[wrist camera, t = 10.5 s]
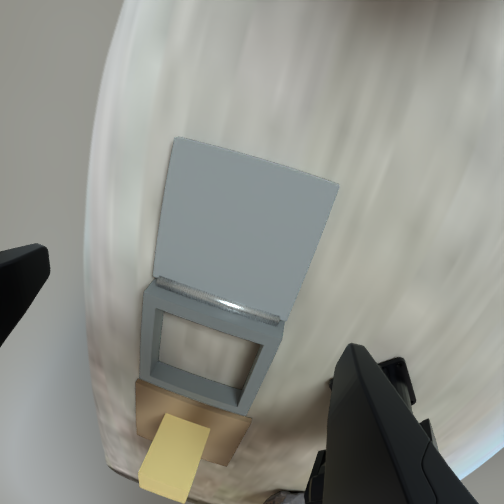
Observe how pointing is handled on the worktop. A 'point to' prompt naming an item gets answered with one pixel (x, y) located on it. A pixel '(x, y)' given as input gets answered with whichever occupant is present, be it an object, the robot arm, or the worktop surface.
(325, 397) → the worktop surface
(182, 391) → the hinged window frame
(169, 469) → the block
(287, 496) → the perforated stone tool
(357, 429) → the robot arm
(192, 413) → the walnut board
